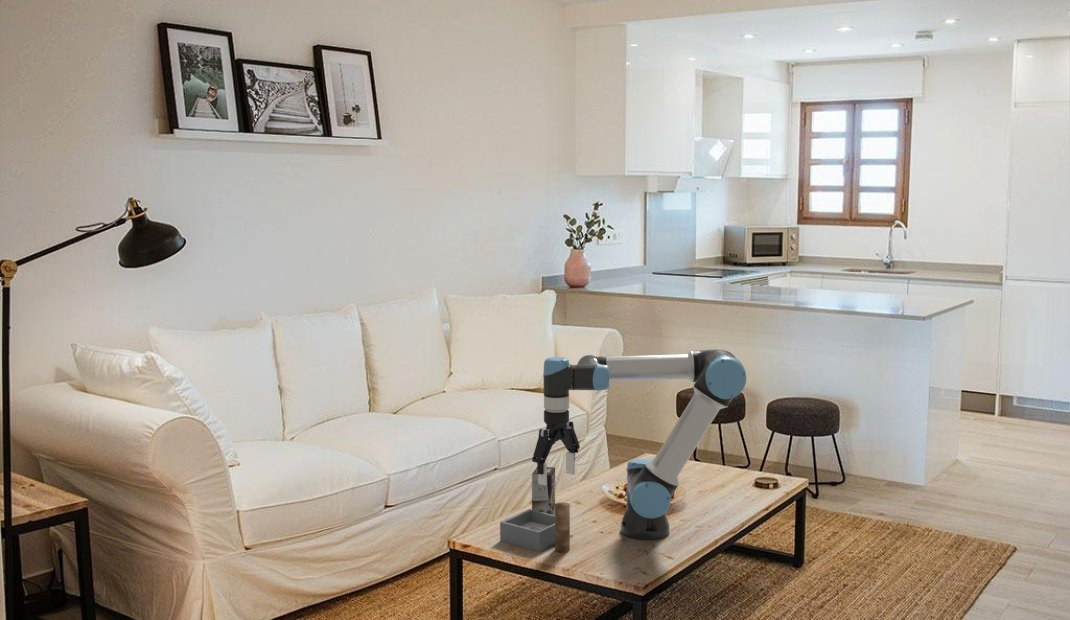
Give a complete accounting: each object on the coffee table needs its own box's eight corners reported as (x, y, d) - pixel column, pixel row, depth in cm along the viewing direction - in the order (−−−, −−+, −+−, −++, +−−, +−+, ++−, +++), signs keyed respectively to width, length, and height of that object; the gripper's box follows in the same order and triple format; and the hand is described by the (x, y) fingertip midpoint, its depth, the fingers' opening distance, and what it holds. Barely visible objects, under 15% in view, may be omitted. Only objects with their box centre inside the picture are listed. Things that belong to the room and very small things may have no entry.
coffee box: (550, 523, 325) (550, 475, 323) (531, 522, 326) (531, 473, 324) (555, 514, 334) (555, 466, 331) (536, 512, 335) (536, 465, 333)
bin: (568, 537, 313) (568, 518, 312) (539, 551, 301) (539, 532, 300) (529, 527, 321) (529, 509, 321) (500, 540, 310) (500, 522, 309)
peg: (572, 549, 303) (572, 504, 301) (564, 553, 299) (564, 508, 297) (560, 545, 305) (560, 501, 303) (552, 550, 302) (552, 505, 300)
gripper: (571, 400, 311) (571, 466, 314) (519, 415, 292) (520, 486, 295) (591, 403, 307) (591, 471, 309) (539, 419, 287) (540, 491, 290)
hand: (556, 478), depth 302 cm, fingers open, 13 cm apart
